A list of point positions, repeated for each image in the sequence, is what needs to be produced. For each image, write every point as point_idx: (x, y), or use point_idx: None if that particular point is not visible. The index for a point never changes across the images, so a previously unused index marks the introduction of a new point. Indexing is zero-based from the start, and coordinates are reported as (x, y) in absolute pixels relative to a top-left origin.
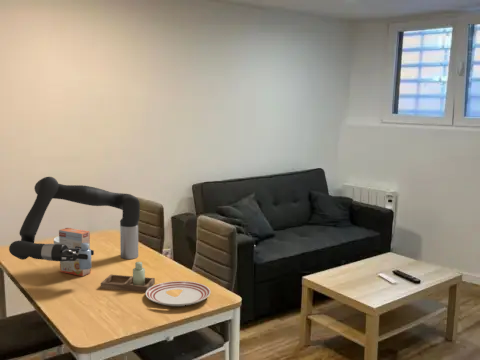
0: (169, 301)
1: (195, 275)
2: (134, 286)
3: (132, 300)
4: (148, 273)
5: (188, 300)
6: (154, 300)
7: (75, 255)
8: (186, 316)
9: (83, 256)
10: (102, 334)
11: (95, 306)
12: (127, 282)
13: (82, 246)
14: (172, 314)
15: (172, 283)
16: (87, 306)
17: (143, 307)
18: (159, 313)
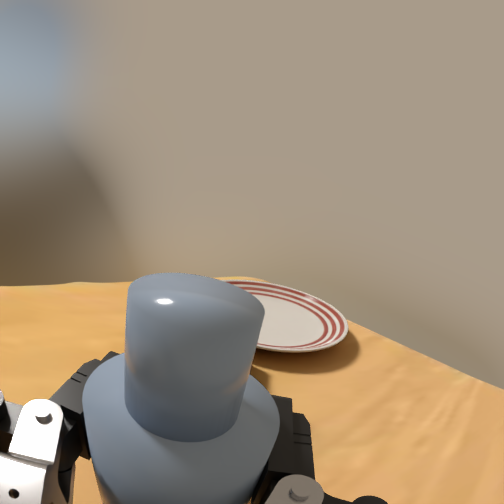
0: (305, 329)
1: (115, 284)
2: (250, 369)
3: (314, 390)
4: (54, 339)
5: (288, 310)
6: (330, 341)
7: (369, 497)
8: (350, 321)
9: (308, 436)
10: (491, 397)
11: (406, 463)
12: None
13: (253, 353)
14: (354, 333)
15: None
16: (419, 483)
17: (347, 368)
18: (361, 346)
